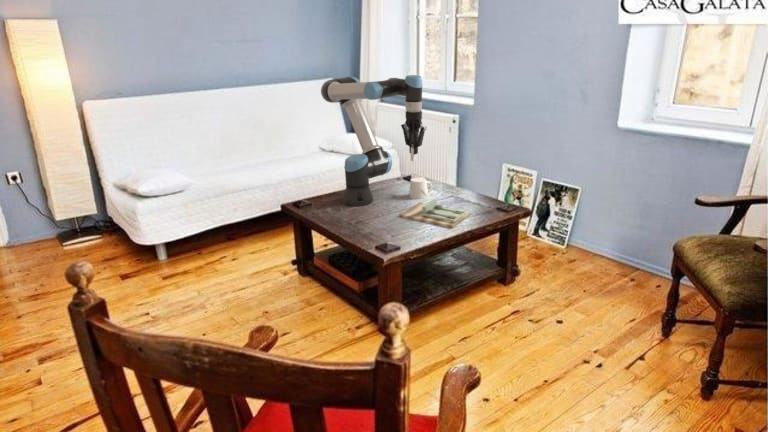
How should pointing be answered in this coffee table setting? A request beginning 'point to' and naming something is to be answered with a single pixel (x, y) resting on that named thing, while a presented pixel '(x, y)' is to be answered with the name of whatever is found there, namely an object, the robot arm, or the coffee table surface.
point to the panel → (441, 212)
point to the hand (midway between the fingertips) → (413, 160)
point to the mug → (419, 188)
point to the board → (416, 215)
